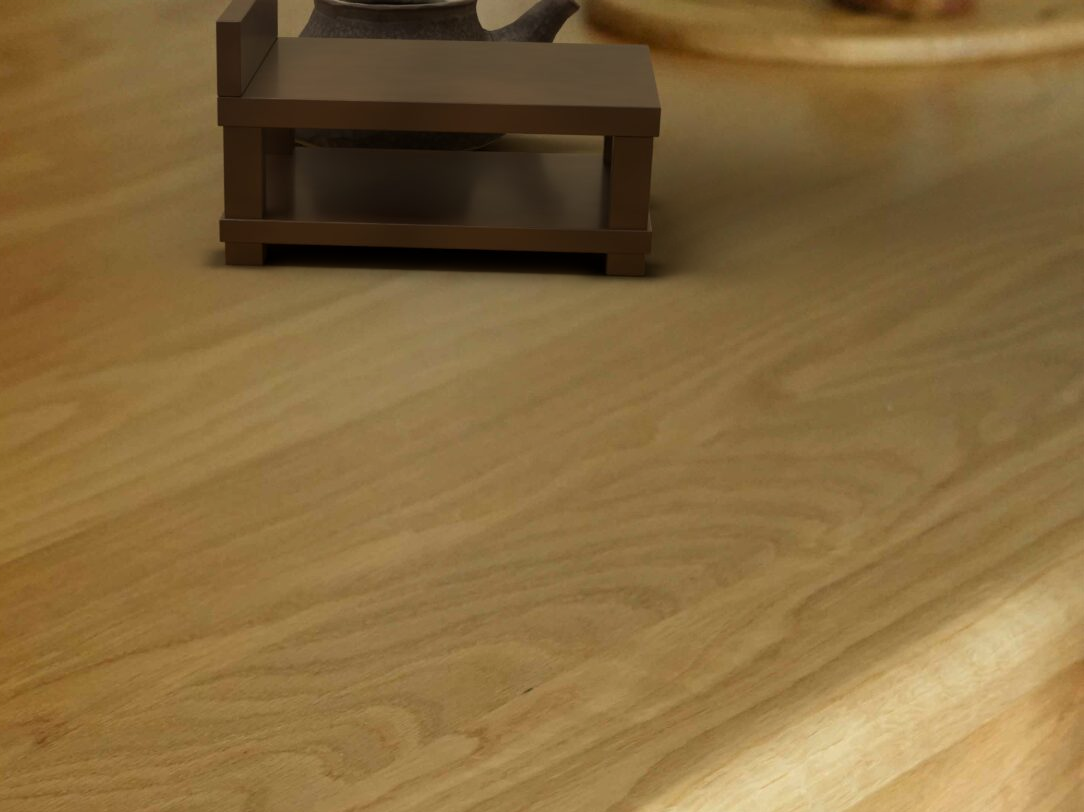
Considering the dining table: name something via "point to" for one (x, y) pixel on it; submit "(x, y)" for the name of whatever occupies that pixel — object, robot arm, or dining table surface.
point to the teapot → (421, 14)
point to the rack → (432, 175)
